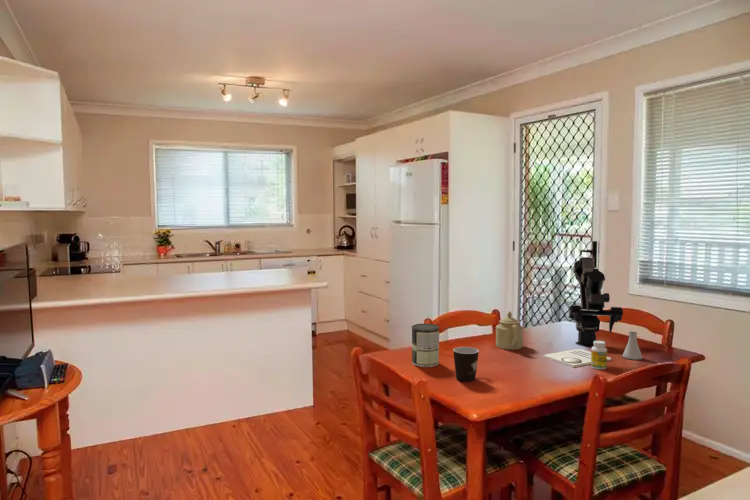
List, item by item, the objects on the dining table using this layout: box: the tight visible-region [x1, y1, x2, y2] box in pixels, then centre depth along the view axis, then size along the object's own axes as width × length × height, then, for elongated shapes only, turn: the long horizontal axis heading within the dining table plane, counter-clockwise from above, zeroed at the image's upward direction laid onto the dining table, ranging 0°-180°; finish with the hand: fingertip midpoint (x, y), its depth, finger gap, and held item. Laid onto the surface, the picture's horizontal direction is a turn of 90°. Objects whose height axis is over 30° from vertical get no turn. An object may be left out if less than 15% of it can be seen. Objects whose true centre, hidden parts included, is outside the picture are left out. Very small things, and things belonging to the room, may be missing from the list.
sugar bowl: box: [495, 311, 524, 351], centre depth 218 cm, size 15×11×15 cm
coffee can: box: [411, 323, 440, 368], centre depth 196 cm, size 10×10×14 cm
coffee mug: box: [452, 346, 480, 383], centre depth 179 cm, size 12×9×10 cm
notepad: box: [542, 348, 612, 368], centre depth 202 cm, size 15×20×1 cm
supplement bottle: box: [590, 340, 608, 371], centre depth 190 cm, size 5×5×10 cm
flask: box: [622, 331, 643, 361], centre depth 202 cm, size 7×7×10 cm
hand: (597, 331), depth 195 cm, fingers open, 9 cm apart
